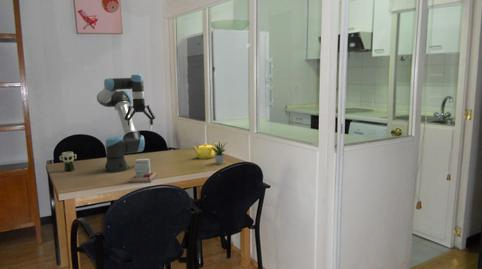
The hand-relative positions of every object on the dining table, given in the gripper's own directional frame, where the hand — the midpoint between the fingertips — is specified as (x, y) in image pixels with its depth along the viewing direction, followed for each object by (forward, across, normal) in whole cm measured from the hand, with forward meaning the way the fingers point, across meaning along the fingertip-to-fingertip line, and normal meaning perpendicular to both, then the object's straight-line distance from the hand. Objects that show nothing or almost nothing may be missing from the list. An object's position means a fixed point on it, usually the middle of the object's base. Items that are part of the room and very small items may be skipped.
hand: (140, 130), depth 256 cm
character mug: (+29, -56, +8) cm, 64 cm away
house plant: (+29, +50, +24) cm, 63 cm away
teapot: (+29, +37, +43) cm, 64 cm away
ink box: (+28, +6, -19) cm, 34 cm away
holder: (+29, +6, -19) cm, 35 cm away
